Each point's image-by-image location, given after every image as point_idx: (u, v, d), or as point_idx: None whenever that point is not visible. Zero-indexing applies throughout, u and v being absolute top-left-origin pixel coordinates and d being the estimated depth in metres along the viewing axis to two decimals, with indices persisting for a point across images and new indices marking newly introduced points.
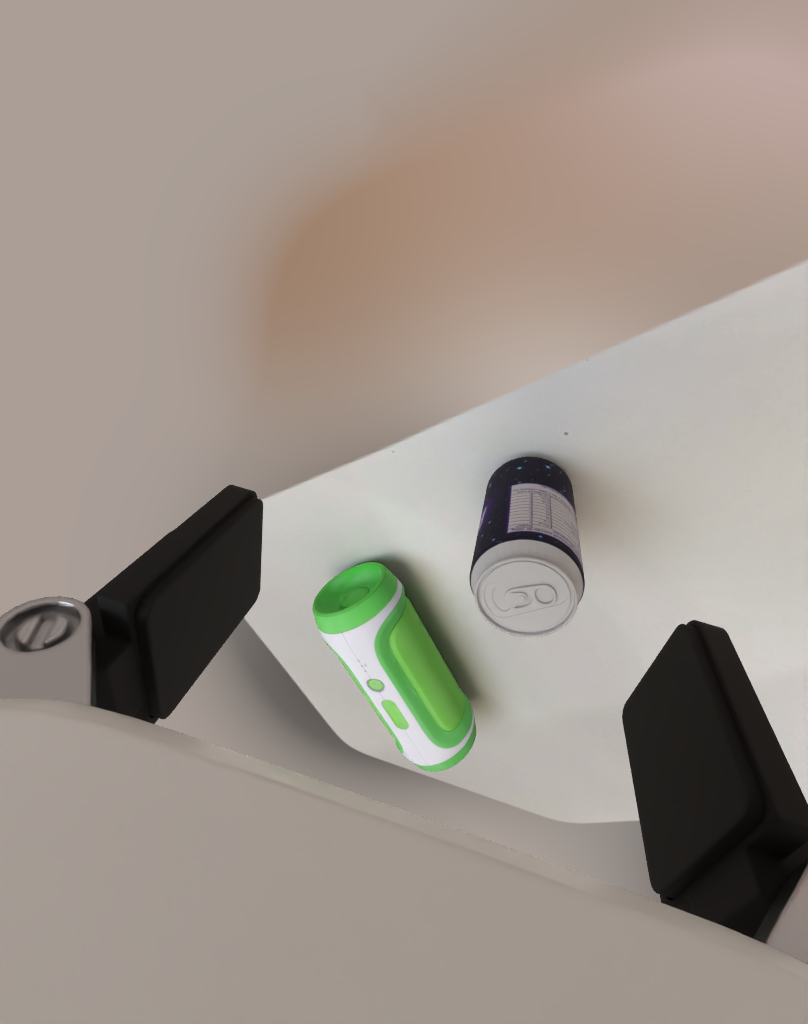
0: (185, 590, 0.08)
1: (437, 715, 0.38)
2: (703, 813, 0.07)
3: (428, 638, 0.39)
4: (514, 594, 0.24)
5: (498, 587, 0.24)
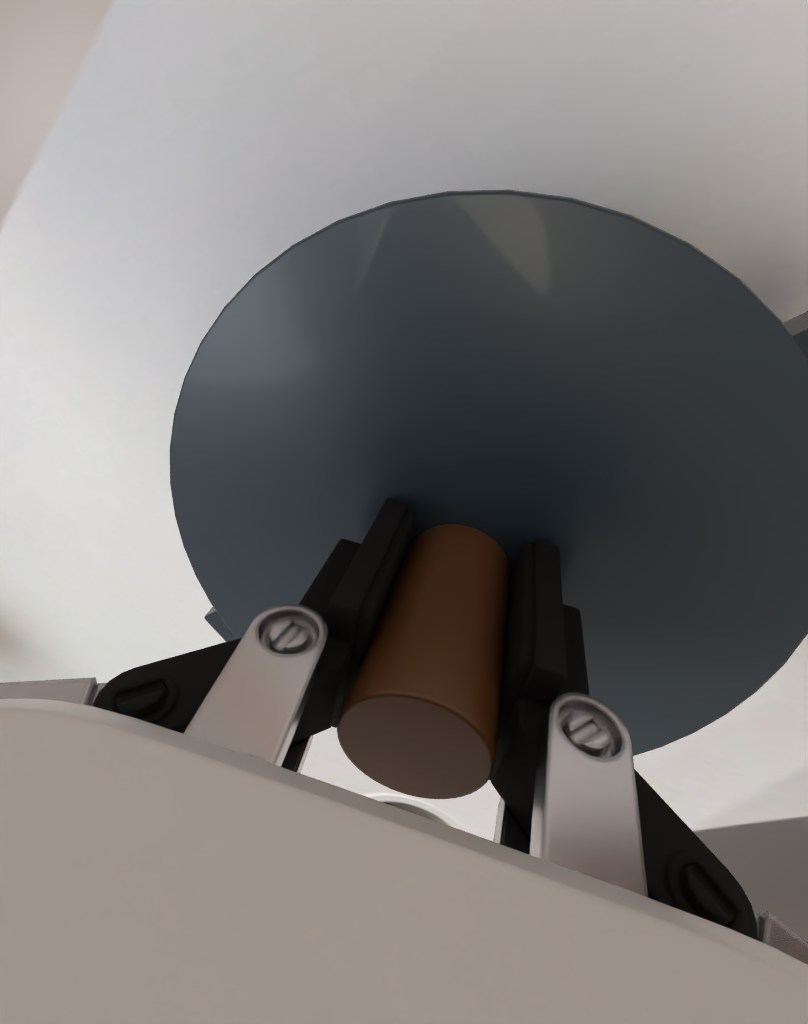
0: (381, 597, 0.09)
1: None
2: (503, 682, 0.09)
3: None
4: None
5: None
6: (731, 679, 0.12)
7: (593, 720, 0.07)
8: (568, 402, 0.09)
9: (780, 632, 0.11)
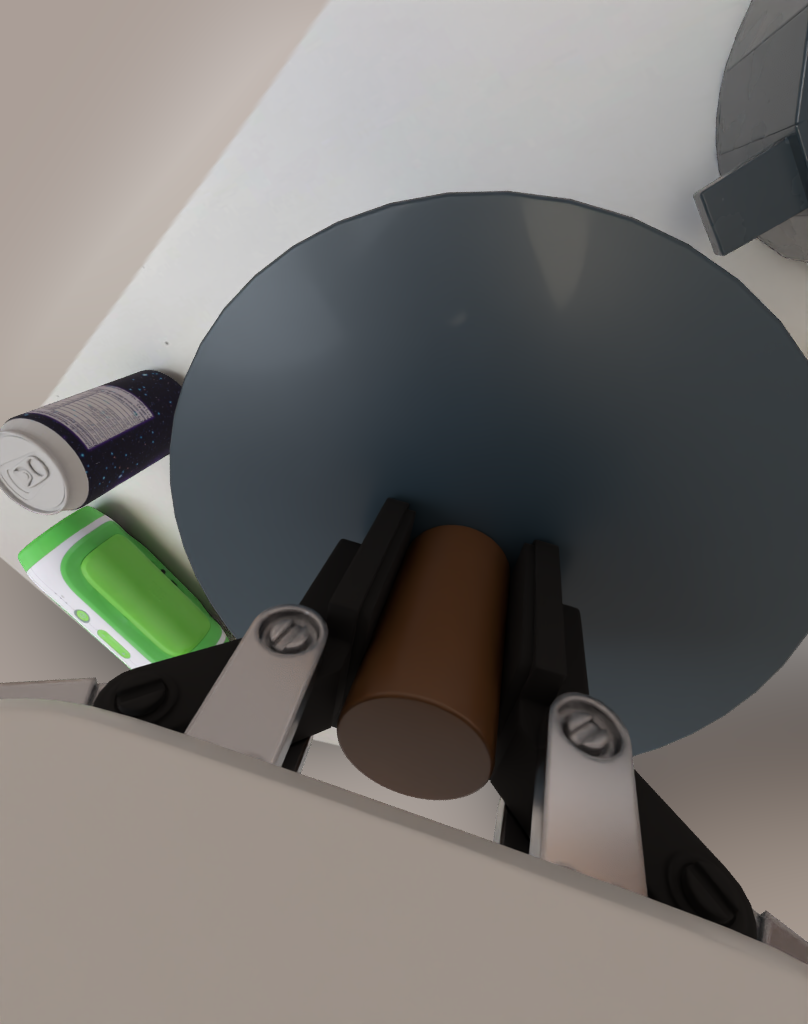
0: (381, 597, 0.09)
1: (158, 641, 0.40)
2: (503, 682, 0.09)
3: (145, 570, 0.41)
4: (18, 472, 0.26)
5: (9, 469, 0.26)
6: (731, 680, 0.12)
7: (593, 720, 0.07)
8: (568, 403, 0.09)
9: (779, 633, 0.11)
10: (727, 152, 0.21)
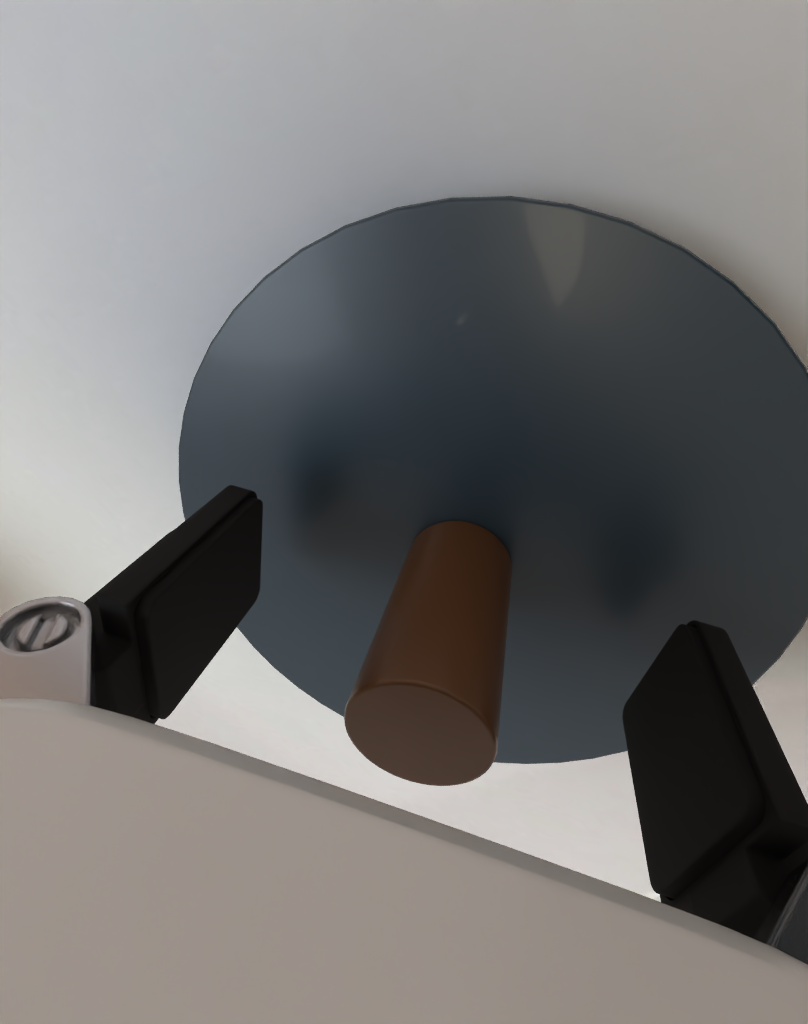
0: (185, 590, 0.08)
1: None
2: (703, 813, 0.07)
3: None
4: None
5: None
6: None
7: None
8: (568, 402, 0.10)
9: (775, 627, 0.11)
10: None
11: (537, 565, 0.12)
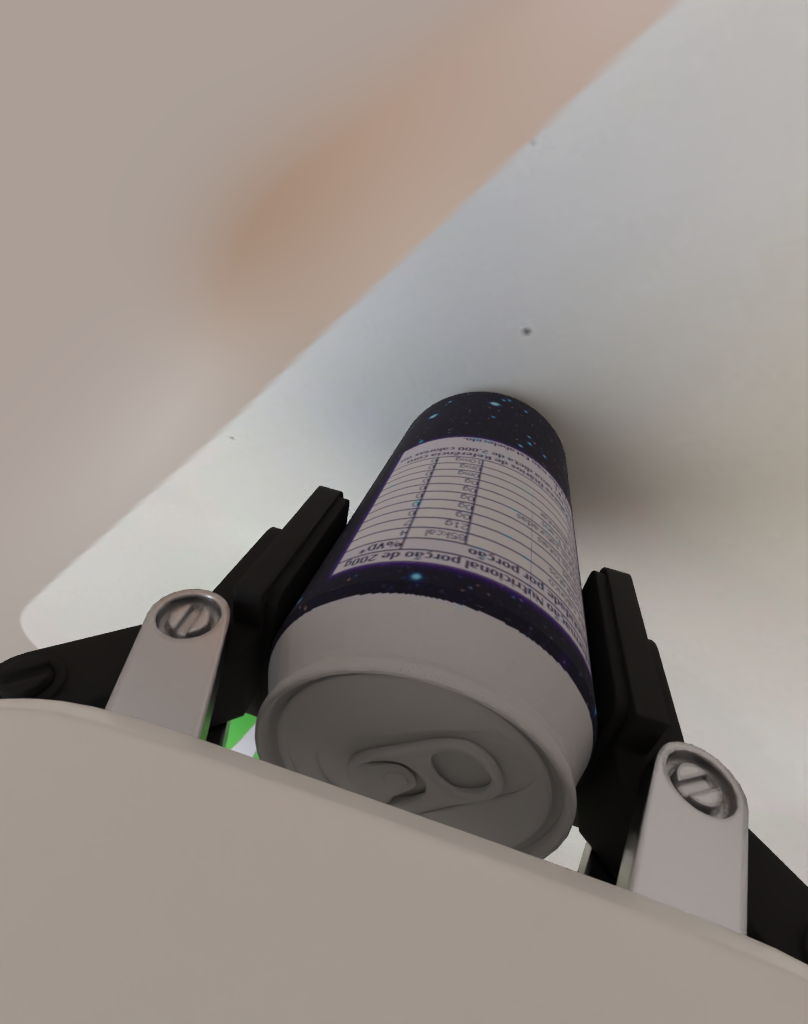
0: (298, 584, 0.09)
1: None
2: None
3: None
4: (371, 770, 0.07)
5: (325, 747, 0.08)
6: None
7: (706, 777, 0.07)
8: None
9: None
10: None
11: None
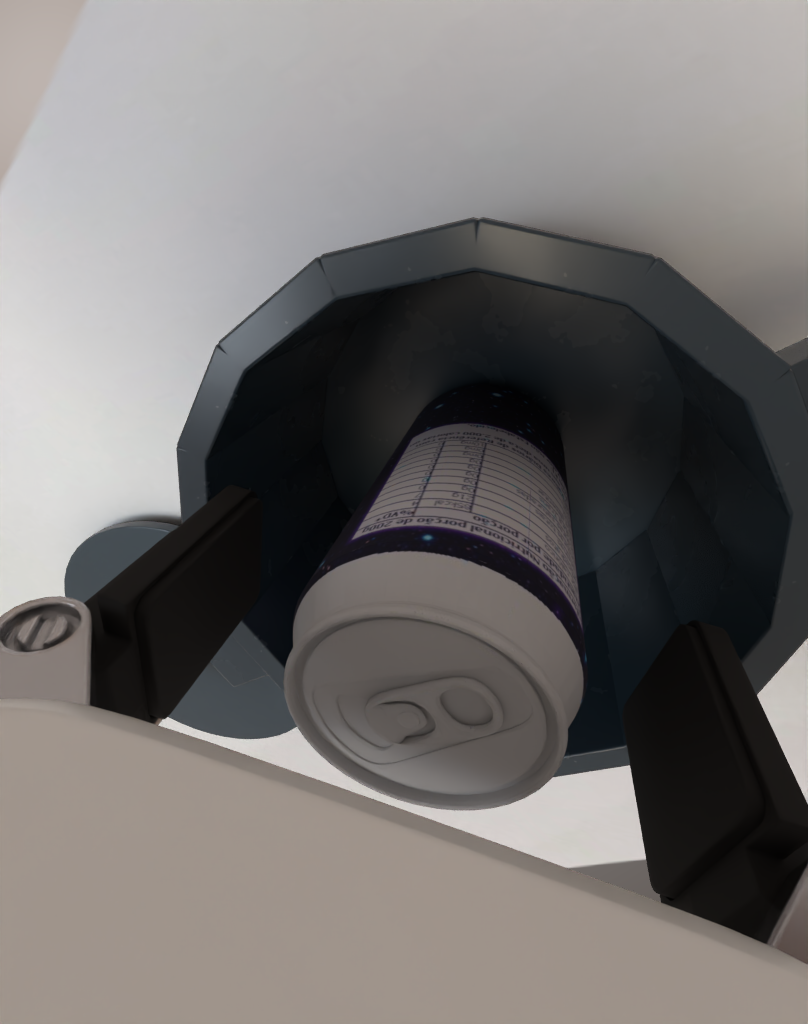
0: (185, 590, 0.08)
1: None
2: (703, 813, 0.07)
3: None
4: (386, 710, 0.08)
5: (346, 692, 0.09)
6: None
7: None
8: None
9: None
10: None
11: None
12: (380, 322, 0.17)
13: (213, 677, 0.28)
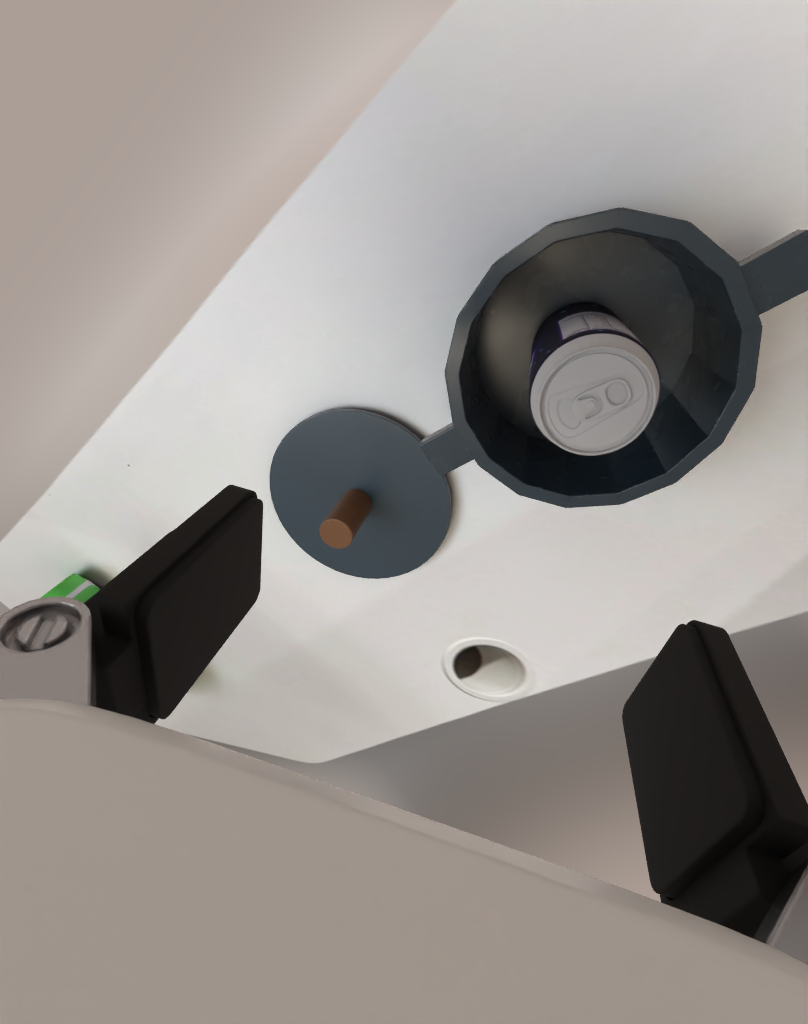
0: (185, 590, 0.08)
1: None
2: (703, 813, 0.07)
3: None
4: (582, 401, 0.22)
5: (562, 399, 0.22)
6: (436, 534, 0.40)
7: None
8: (378, 456, 0.38)
9: (443, 518, 0.39)
10: None
11: (378, 502, 0.40)
12: (523, 269, 0.30)
13: (369, 526, 0.41)
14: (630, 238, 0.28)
